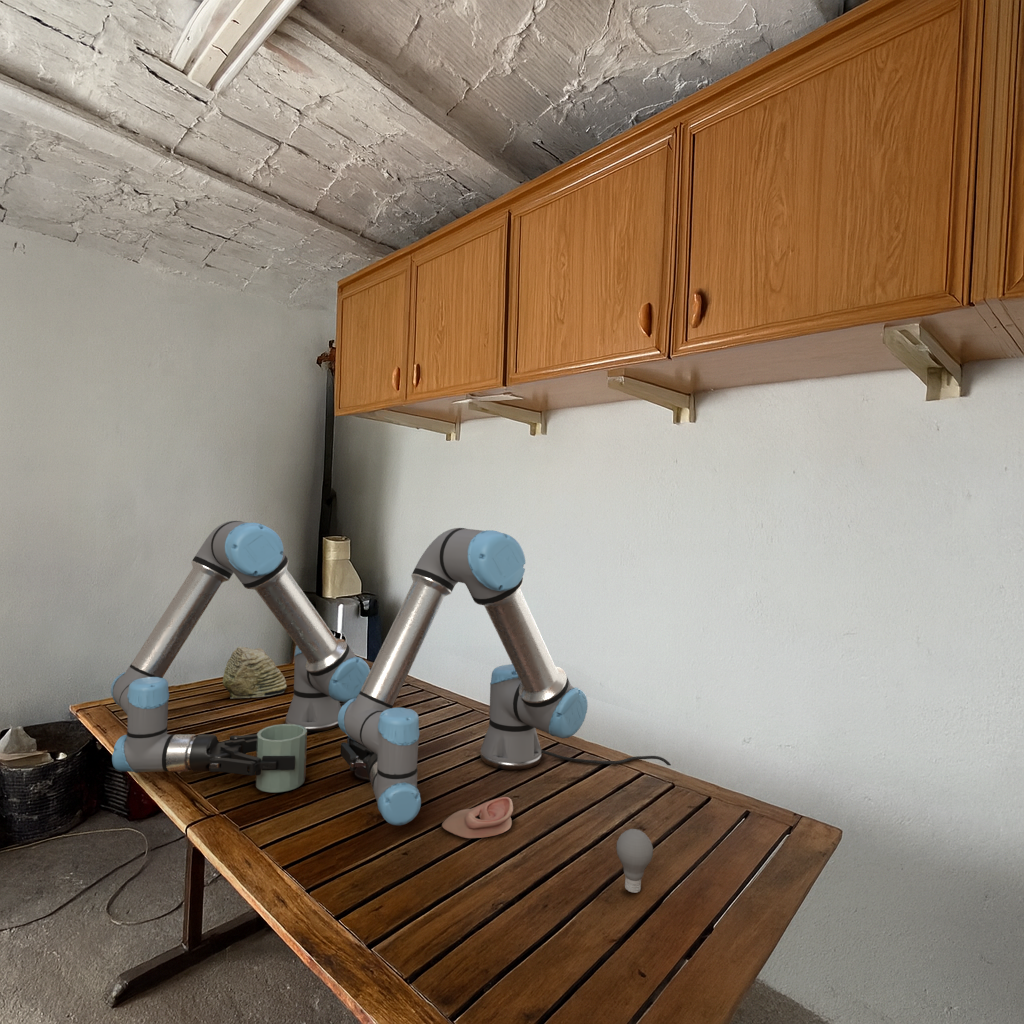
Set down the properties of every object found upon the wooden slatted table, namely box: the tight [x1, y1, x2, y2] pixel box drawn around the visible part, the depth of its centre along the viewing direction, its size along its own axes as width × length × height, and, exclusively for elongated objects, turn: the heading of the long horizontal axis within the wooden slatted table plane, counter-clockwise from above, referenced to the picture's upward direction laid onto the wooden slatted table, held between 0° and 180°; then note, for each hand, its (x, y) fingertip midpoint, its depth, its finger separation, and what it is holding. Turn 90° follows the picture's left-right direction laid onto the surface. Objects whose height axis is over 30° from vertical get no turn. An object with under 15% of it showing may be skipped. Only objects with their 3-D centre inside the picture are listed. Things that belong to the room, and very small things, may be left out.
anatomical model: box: [441, 796, 514, 839], centre depth 125 cm, size 13×4×12 cm
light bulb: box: [615, 828, 654, 894], centre depth 106 cm, size 6×6×10 cm
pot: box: [254, 723, 308, 794], centre depth 139 cm, size 10×10×11 cm
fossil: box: [222, 646, 288, 699], centre depth 198 cm, size 9×18×15 cm, turn 132°
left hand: (300, 752), depth 139 cm, fingers closed on pot, 10 cm apart
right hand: (371, 733), depth 150 cm, fingers closed on tumbler, 8 cm apart
